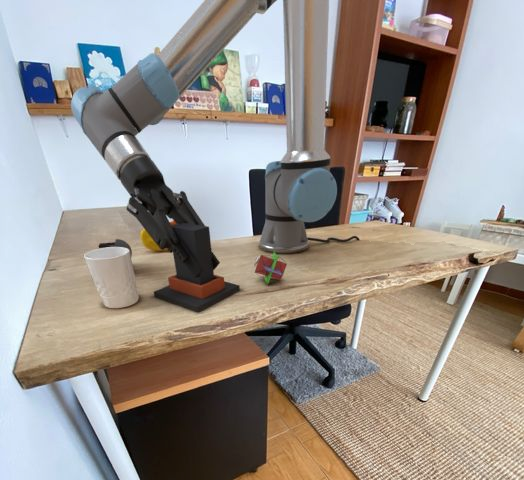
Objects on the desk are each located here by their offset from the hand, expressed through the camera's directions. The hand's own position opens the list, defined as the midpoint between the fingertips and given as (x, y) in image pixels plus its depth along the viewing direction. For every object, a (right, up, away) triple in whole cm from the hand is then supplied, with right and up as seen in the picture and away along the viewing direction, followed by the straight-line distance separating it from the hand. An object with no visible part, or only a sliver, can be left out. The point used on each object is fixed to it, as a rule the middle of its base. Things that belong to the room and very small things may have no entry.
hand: (207, 269), depth 59 cm
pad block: (-3, -1, +4) cm, 5 cm away
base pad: (-3, -4, +5) cm, 7 cm away
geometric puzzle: (+13, 0, +11) cm, 17 cm away
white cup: (-18, -6, +2) cm, 19 cm away
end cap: (-26, +5, +18) cm, 32 cm away
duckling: (-20, +15, +33) cm, 42 cm away
